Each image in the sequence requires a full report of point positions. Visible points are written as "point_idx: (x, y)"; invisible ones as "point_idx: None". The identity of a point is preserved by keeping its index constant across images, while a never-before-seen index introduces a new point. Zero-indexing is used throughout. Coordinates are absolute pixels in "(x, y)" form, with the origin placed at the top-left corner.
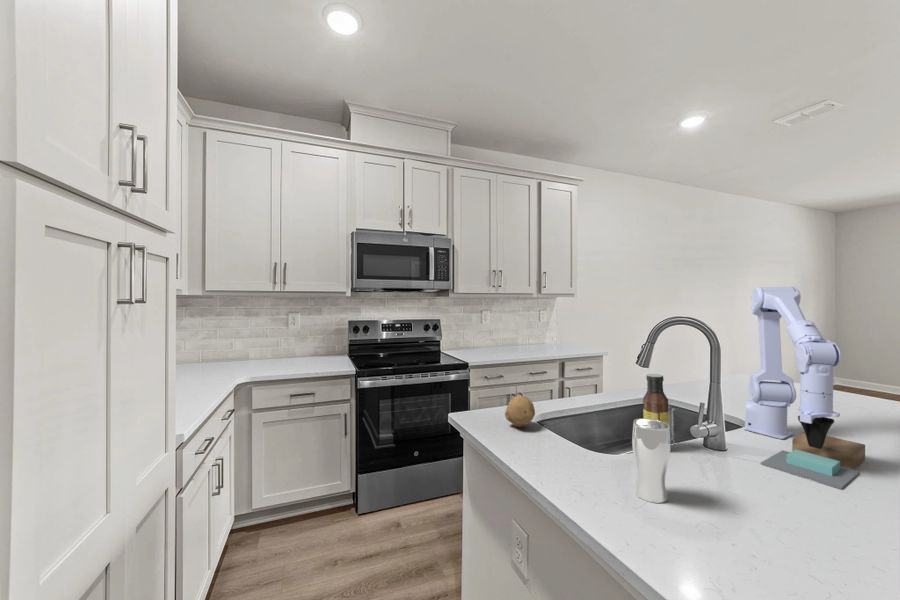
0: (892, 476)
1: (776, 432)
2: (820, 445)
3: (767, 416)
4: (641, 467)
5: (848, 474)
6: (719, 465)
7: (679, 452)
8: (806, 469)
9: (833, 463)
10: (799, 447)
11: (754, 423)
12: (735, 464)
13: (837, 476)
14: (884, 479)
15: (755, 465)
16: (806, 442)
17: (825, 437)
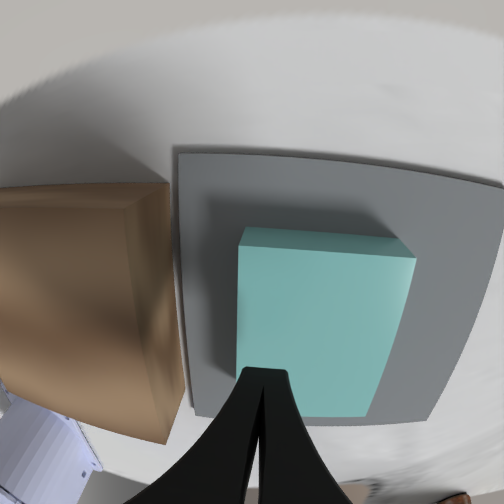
0: (89, 60)
1: (58, 428)
2: (291, 389)
3: (52, 484)
4: None
5: (294, 183)
6: (492, 439)
7: (450, 489)
8: None
9: (329, 265)
10: (171, 399)
11: (77, 472)
12: (467, 434)
13: (381, 219)
14: (167, 61)
15: (444, 416)
16: (156, 408)
17: (224, 422)
